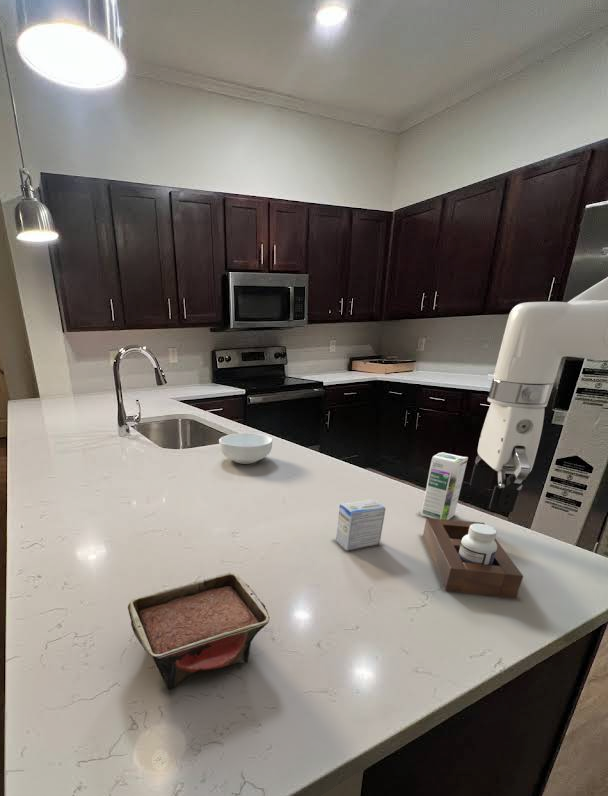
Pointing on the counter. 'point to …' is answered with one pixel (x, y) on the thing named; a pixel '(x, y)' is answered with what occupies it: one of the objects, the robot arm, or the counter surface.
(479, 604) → the counter surface
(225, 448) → the cereal bowl
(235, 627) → the baking dish
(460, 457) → the syrup box
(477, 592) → the holder
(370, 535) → the medicine box
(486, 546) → the pill bottle
